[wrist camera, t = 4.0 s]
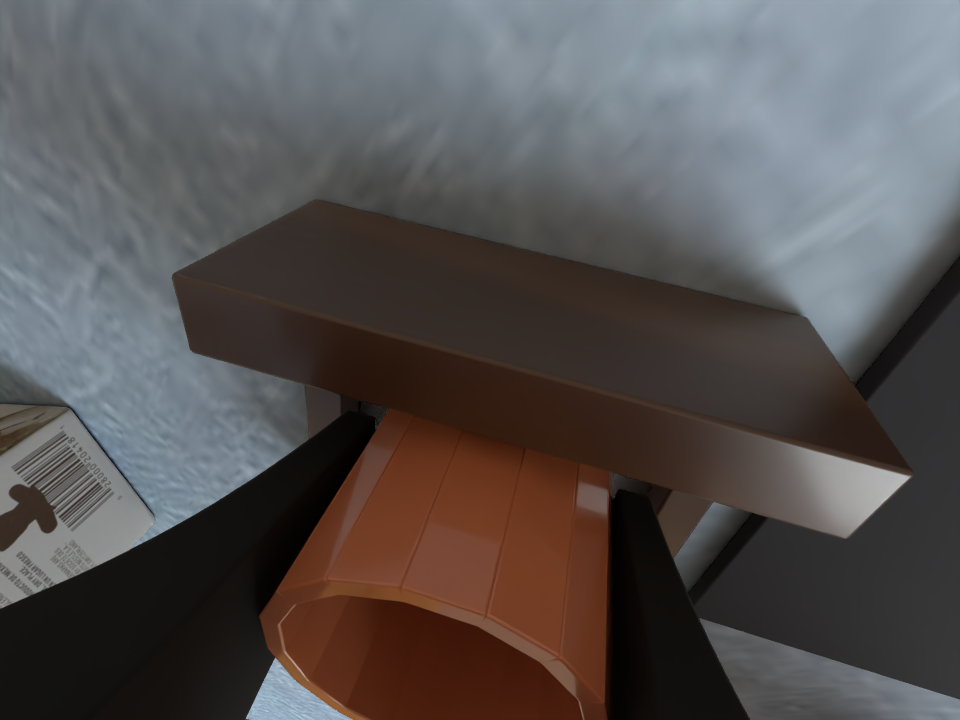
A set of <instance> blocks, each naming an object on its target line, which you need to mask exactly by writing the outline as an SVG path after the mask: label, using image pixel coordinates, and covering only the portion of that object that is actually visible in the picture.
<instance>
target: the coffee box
mask: <svg viewBox="0 0 960 720" xmlns="http://www.w3.org/2000/svg"><path fill="white" fill-rule="evenodd" d="M154 523H155V518H154V516H153V514H152V513H151V512H150V511H149V509H148V508H147V507H146V505H145V504H144V503H143V502H142V500H141V499H140V498H139V497H138V495H137V494H136V493H135V491H134V490H133V489H132V487H131V486H130V485H129V483H128V482H127V481H126V480H125V478H124V477H123V476H122V475H121V474H120V472H119V471H118V470H117V468H116V467H115V466H114V464H113V463H112V462H111V461H110V459H109V458H108V457H107V455H106V454H105V453H104V452H103V450H102V449H101V448H100V446H99V445H98V444H97V442H96V441H95V440H94V439H93V437H92V436H91V435H90V433H89V432H88V431H87V429H86V428H85V427H84V425H83V424H82V423H81V421H80V420H79V419H78V418H77V416H76V415H75V414H74V413H73V412H72V410H71V409H69V408H67V407H57V406H36V405H14V404H0V608H3V607H5V606H7V605H10V604H12V603H14V602H17V601H19V600H21V599H24V598H26V597H28V596H30V595H33V594H35V593H37V592H40V591H42V590H44V589H46V588H49V587H51V586H53V585H56V584H58V583H60V582H63V581H65V580H67V579H69V578H72V577H74V576H76V575H78V574H81V573H83V572H85V571H87V570H89V569H91V568H93V567H96V566H98V565H100V564H102V563H104V562H106V561H108V560H110V559H112V558H114V557H116V556H118V555H120V554H122V553H124V552H126V551H128V550H130V549H131V548H132V547H133V546H134V545H135V544H136V543H137V542H138V541H139V539H140V538H141V537H142V536H143V535H144V534H145V533H146V532H147V531H148V530H149V529H150V528H151V527H152V525H153V524H154Z"/></svg>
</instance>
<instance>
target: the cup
mask: <svg viewBox="0 0 960 720" xmlns="http://www.w3.org/2000/svg"><path fill="white" fill-rule="evenodd" d="M613 500H614V473H611V472H608V471H604V470H601V469H597V468H594V467H590V466H587V465H584V464H580V463H577V462H573V461H570V460H566V459H563V458H559V457H556V456H552V455H549V454H545V453H542V452H538V451H535V450H531V449H528V448H524V447H521V446H517V445H514V444H510V443H507V442H503V441H500V440H496V439H493V438H489V437H486V436H482V435H479V434H475V433H472V432H468V431H465V430H461V429H458V428H454V427H451V426H447V425H444V424H440V423H437V422H433V421H430V420H426V419H423V418H419V417H416V416H413V415H409V414H406V413H402V412H399V411H395V410H392V409H388V410H387V411H386V413H385V414H384V416H383V418H382V419H381V421H380V422H379V424H378V426H377V427H376V429H375V431H374V432H373V434H372V435H371V437H370V439H369V440H368V442H367V443H366V445H365V446H364V448H363V450H362V451H361V453H360V454H359V456H358V458H357V459H356V461H355V462H354V464H353V466H352V467H351V469H350V470H349V472H348V473H347V475H346V477H345V478H344V480H343V481H342V483H341V485H340V486H339V488H338V489H337V491H336V492H335V494H334V496H333V497H332V499H331V500H330V502H329V504H328V505H327V507H326V508H325V510H324V512H323V513H322V515H321V516H320V518H319V520H318V521H317V523H316V524H315V526H314V527H313V529H312V531H311V532H310V534H309V535H308V537H307V539H306V540H305V542H304V543H303V545H302V547H301V548H300V550H299V551H298V553H297V555H296V556H295V558H294V559H293V561H292V563H291V564H290V566H289V567H288V569H287V570H286V572H285V574H284V575H283V577H282V578H281V580H280V582H279V583H278V585H277V586H276V588H275V590H274V591H273V593H272V594H271V596H270V598H269V599H268V601H267V602H266V604H265V605H264V607H263V609H262V610H261V612H260V616H259V619H260V623H261V626H262V630H263V634H264V638H265V642H266V646H267V647H268V649H269V650H270V652H271V653H272V654H273V655H274V656H275V658H276V659H277V660H278V661H279V662H280V663H281V665H282V666H283V667H284V668H285V669H286V670H287V672H288V673H289V674H290V675H291V676H292V677H293V679H294V680H296V681H297V682H298V683H299V684H301V685H302V686H303V687H305V688H306V689H307V690H309V691H310V692H311V693H313V694H314V695H316V696H317V697H318V698H320V699H321V700H322V701H324V702H325V703H326V704H328V705H329V706H331V707H332V708H333V709H335V710H337V711H338V712H340V713H342V714H344V715H345V716H347V717H349V718H351V719H353V720H612V644H613Z"/></svg>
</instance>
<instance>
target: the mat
mask: <svg viewBox="0 0 960 720" xmlns="http://www.w3.org/2000/svg"><path fill="white" fill-rule="evenodd" d="M855 388H856V389H857V390H858V392H859V393H860V395H861V396H862V398H863V399H864V401H865V402H866V403H867V405H868V406H869V408H870V409H871V411H872V412H873V414H874V415H875V417H876V418H877V419H878V421H879V422H880V424H881V425H882V427H883V428H884V430H885V431H886V432H887V434H888V435H889V437H890V438H891V440H892V441H893V443H894V444H895V445H896V447H897V448H898V450H899V451H900V453H901V454H902V456H903V457H904V459H905V460H906V461H907V463H908V464H909V466H910V467H911V469H912V470H913V477H912V478H911V479H910V480H909V481H908V482H907V483H906V484H905V485H904V486H903V487H902V488H901V489H900V490H899V491H898V492H896V493H895V494H894V495H893V496H892V497H891V498H890V499H889V500H888V501H887V502H886V503H885V504H884V505H883V506H882V507H881V508H880V509H879V510H878V511H876V512H875V513H874V514H873V515H872V516H871V517H870V518H869V519H868V520H867V521H866V522H865V523H864V524H863V525H862V526H861V527H860V528H859V529H858V530H856V531H855V532H854V533H853V534H852V535H851V536H850V537H849V538H846V539H842V538H838V537H835V536H831V535H828V534H824V533H821V532H817V531H814V530H810V529H807V528H803V527H800V526H796V525H793V524H789V523H786V522H782V521H779V520H775V519H772V518H768V517H765V516H761V515H758V514H755V513H753V514H752V516H751V517H750V518H749V519H748V521H747V522H746V523H745V524H744V526H743V527H742V528H741V529H740V531H739V532H738V533H737V534H736V536H735V537H734V538H733V539H732V540H731V542H730V543H729V544H728V545H727V547H726V548H725V549H724V550H723V552H722V553H721V554H720V555H719V557H718V558H717V559H716V560H715V562H714V563H713V564H712V565H711V567H710V568H709V569H708V570H707V572H706V573H705V574H704V575H703V576H702V578H701V579H700V580H699V581H698V583H697V584H696V585H695V586H694V588H693V589H692V590H691V591H690V593H689V594H688V595H689V597H690V599H691V602H692V604H693V606H694V608H695V611H696V613H697V615H698V618H702V619H705V620H708V621H711V622H714V623H718V624H721V625H724V626H727V627H730V628H734V629H737V630H740V631H743V632H746V633H749V634H753V635H756V636H759V637H762V638H765V639H769V640H772V641H775V642H778V643H781V644H785V645H788V646H791V647H794V648H797V649H801V650H804V651H807V652H810V653H813V654H816V655H820V656H823V657H826V658H829V659H832V660H836V661H839V662H842V663H845V664H848V665H852V666H855V667H858V668H861V669H864V670H868V671H871V672H874V673H877V674H880V675H883V676H887V677H890V678H893V679H896V680H899V681H903V682H906V683H909V684H912V685H915V686H919V687H922V688H925V689H928V690H931V691H935V692H938V693H941V694H944V695H947V696H951V697H954V698H957V699H960V257H959V259H958V260H957V261H956V262H955V264H954V265H953V266H952V267H951V269H950V270H949V271H948V272H947V274H946V275H945V276H944V277H943V279H942V280H941V281H940V282H939V283H938V285H937V286H936V287H935V288H934V290H933V291H932V292H931V293H930V295H929V296H928V297H927V298H926V300H925V301H924V302H923V303H922V305H921V306H920V307H919V308H918V310H917V311H916V312H915V313H914V315H913V316H912V317H911V318H910V319H909V321H908V322H907V323H906V324H905V326H904V327H903V328H902V329H901V331H900V332H899V333H898V334H897V336H896V337H895V338H894V339H893V341H892V342H891V343H890V344H889V346H888V347H887V348H886V349H885V351H884V352H883V353H882V354H881V355H880V357H879V358H878V359H877V360H876V362H875V363H874V364H873V365H872V367H871V368H870V369H869V370H868V372H867V373H866V374H865V375H864V377H863V378H862V379H861V380H860V382H859V383H858V384H857V385H856V387H855Z"/></svg>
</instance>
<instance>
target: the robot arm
mask: <svg viewBox="0 0 960 720" xmlns="http://www.w3.org/2000/svg"><path fill="white" fill-rule="evenodd" d="M374 431H375V417H371V416H368V415H364V414H361V413H357V412H354V411H351V410H349V411H347V412H345V413H343V414H342V415H341V416H339V417H338V418H337V419H335V420H334V421H333V422H331V423H330V424H329V425H328V426H326V427H325V428H324V429H322V430H321V431H320V432H318V433H317V434H316V435H314V436H313V437H312V438H310V439H309V440H307V441H306V442H305V443H303V444H302V445H301V446H299V447H298V448H297V449H295V450H294V451H292V452H291V453H289V454H288V455H287V456H285V457H284V458H282V459H281V460H279V461H278V462H277V463H275V464H274V465H272V466H271V467H269V468H268V469H267V470H265V471H264V472H262V473H261V474H259V475H258V476H256V477H255V478H253V479H252V480H250V481H248V482H247V483H245V484H244V485H242V486H241V487H239V488H237V489H236V490H234V491H233V492H231V493H230V494H228V495H226V496H225V497H223V498H222V499H220V500H219V501H217V502H215V503H214V504H212V505H210V506H209V507H207V508H205V509H204V510H202V511H200V512H199V513H197V514H195V515H193V516H192V517H190V518H188V519H186V520H185V521H183V522H181V523H179V524H177V525H176V526H174V527H172V528H170V529H168V530H167V531H165V532H163V533H161V534H159V535H157V536H155V537H154V538H152V539H150V540H148V541H146V542H144V543H142V544H140V545H138V546H136V547H134V548H132V549H130V550H128V551H126V552H124V553H122V554H120V555H118V556H116V557H114V558H112V559H110V560H108V561H106V562H104V563H102V564H100V565H98V566H96V567H93V568H91V569H89V570H87V571H85V572H83V573H81V574H78V575H76V576H74V577H72V578H69V579H67V580H65V581H63V582H60V583H58V584H56V585H53V586H51V587H49V588H46V589H44V590H42V591H40V592H37V593H35V594H33V595H30V596H28V597H26V598H24V599H21V600H19V601H17V602H14V603H12V604H10V605H7V606H5V607H3V608H0V720H245V719H246V717H247V715H248V712H249V710H250V708H251V706H252V704H253V702H254V700H255V698H256V696H257V694H258V691H259V689H260V687H261V685H262V683H263V681H264V679H265V677H266V675H267V673H268V671H269V669H270V667H271V665H272V663H273V661H274V659H275V656H274V655H273V654H272V653H271V652H270V650H269V649H268V647H267V646H266V642H265V638H264V634H263V630H262V626H261V623H260V619H259V616H260V612H261V610H262V609H263V607H264V605H265V604H266V602H267V601H268V599H269V598H270V596H271V594H272V593H273V591H274V590H275V588H276V586H277V585H278V583H279V582H280V580H281V578H282V577H283V575H284V574H285V572H286V570H287V569H288V567H289V566H290V564H291V563H292V561H293V559H294V558H295V556H296V555H297V553H298V551H299V550H300V548H301V547H302V545H303V543H304V542H305V540H306V539H307V537H308V535H309V534H310V532H311V531H312V529H313V527H314V526H315V524H316V523H317V521H318V520H319V518H320V516H321V515H322V513H323V512H324V510H325V508H326V507H327V505H328V504H329V502H330V500H331V499H332V497H333V496H334V494H335V492H336V491H337V489H338V488H339V486H340V485H341V483H342V481H343V480H344V478H345V477H346V475H347V473H348V472H349V470H350V469H351V467H352V466H353V464H354V462H355V461H356V459H357V458H358V456H359V454H360V453H361V451H362V450H363V448H364V446H365V445H366V443H367V442H368V440H369V439H370V437H371V435H372V434H373V432H374ZM612 720H750V718H749V717H748V715H747V713H746V711H745V709H744V708H743V706H742V704H741V702H740V700H739V698H738V696H737V694H736V693H735V691H734V689H733V687H732V685H731V683H730V681H729V679H728V677H727V675H726V673H725V671H724V669H723V667H722V665H721V663H720V661H719V659H718V657H717V655H716V653H715V651H714V649H713V647H712V645H711V643H710V641H709V639H708V637H707V635H706V633H705V630H704V628H703V626H702V624H701V622H700V620H699V618H698V615H697V613H696V611H695V608H694V606H693V604H692V602H691V599H690V597H689V595H688V593H687V590H686V588H685V586H684V584H683V581H682V579H681V576H680V574H679V572H678V569H677V567H676V564H675V562H674V559H673V557H672V554H671V552H670V549H669V547H668V544H667V542H666V539H665V536H664V534H663V531H662V528H661V526H660V523H659V520H658V518H657V515H656V512H655V509H654V506H653V504H652V502H651V500H650V498H649V497H647V496H643V495H640V494H636V493H633V492H629V491H626V490H622V489H619V490H618V492H617V494H616V496H615V498H614V500H613V644H612Z"/></svg>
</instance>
